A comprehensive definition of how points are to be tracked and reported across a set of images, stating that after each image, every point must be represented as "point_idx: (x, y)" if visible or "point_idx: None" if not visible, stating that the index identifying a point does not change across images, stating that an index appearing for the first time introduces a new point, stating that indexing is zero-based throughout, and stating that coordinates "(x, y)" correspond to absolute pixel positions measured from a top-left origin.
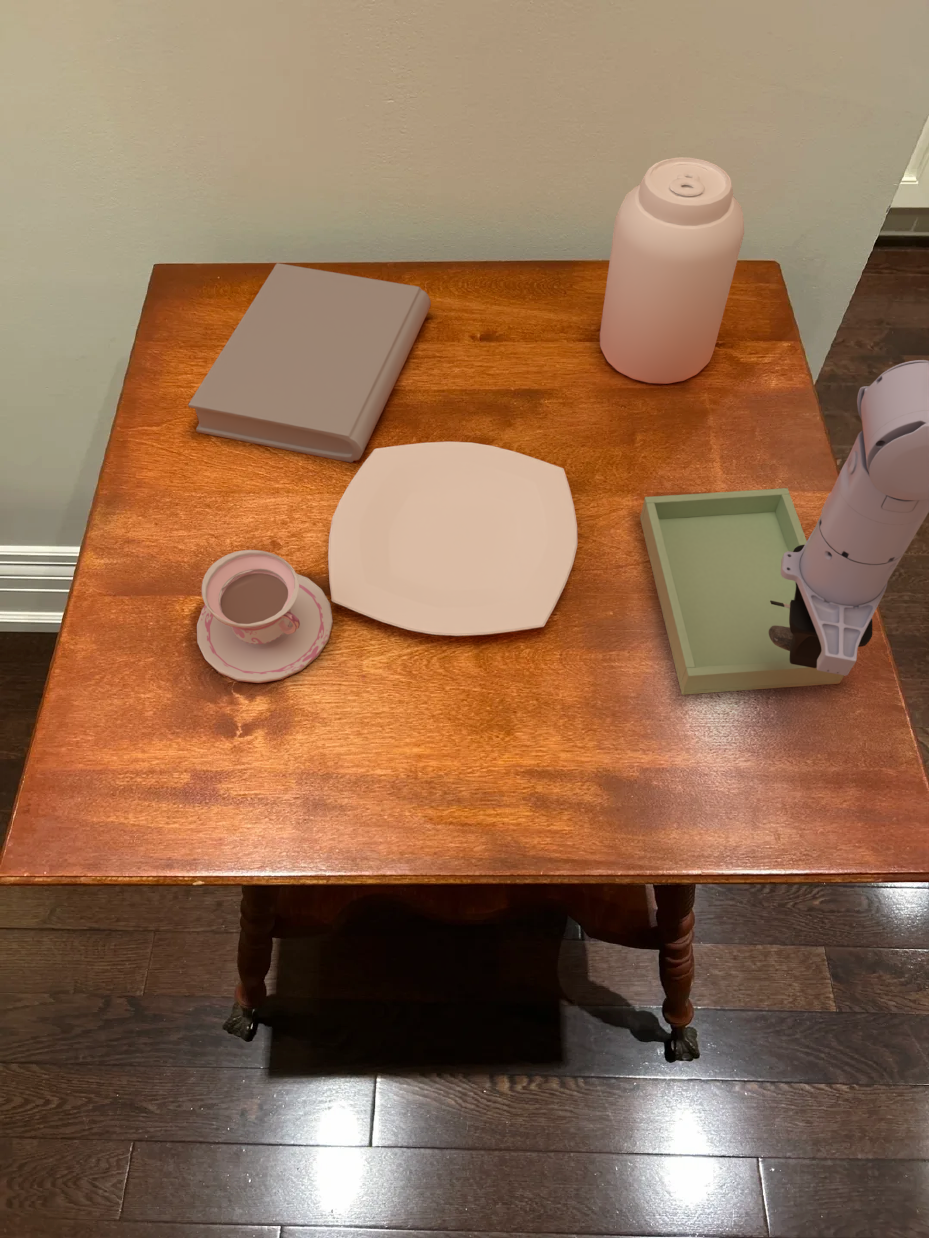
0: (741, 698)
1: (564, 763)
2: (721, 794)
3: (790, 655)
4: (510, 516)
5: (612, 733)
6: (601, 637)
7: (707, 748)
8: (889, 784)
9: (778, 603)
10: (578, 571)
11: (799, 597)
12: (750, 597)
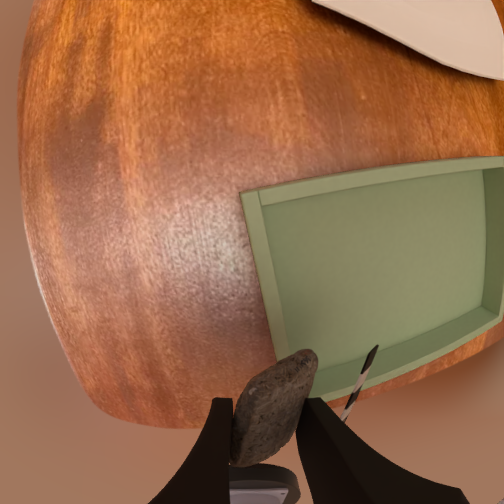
0: (245, 277)
1: (118, 56)
2: (100, 250)
3: (211, 413)
4: (449, 17)
5: (162, 100)
6: (322, 80)
7: (157, 231)
8: (166, 412)
9: (369, 362)
10: (411, 69)
11: (342, 465)
12: (398, 287)
